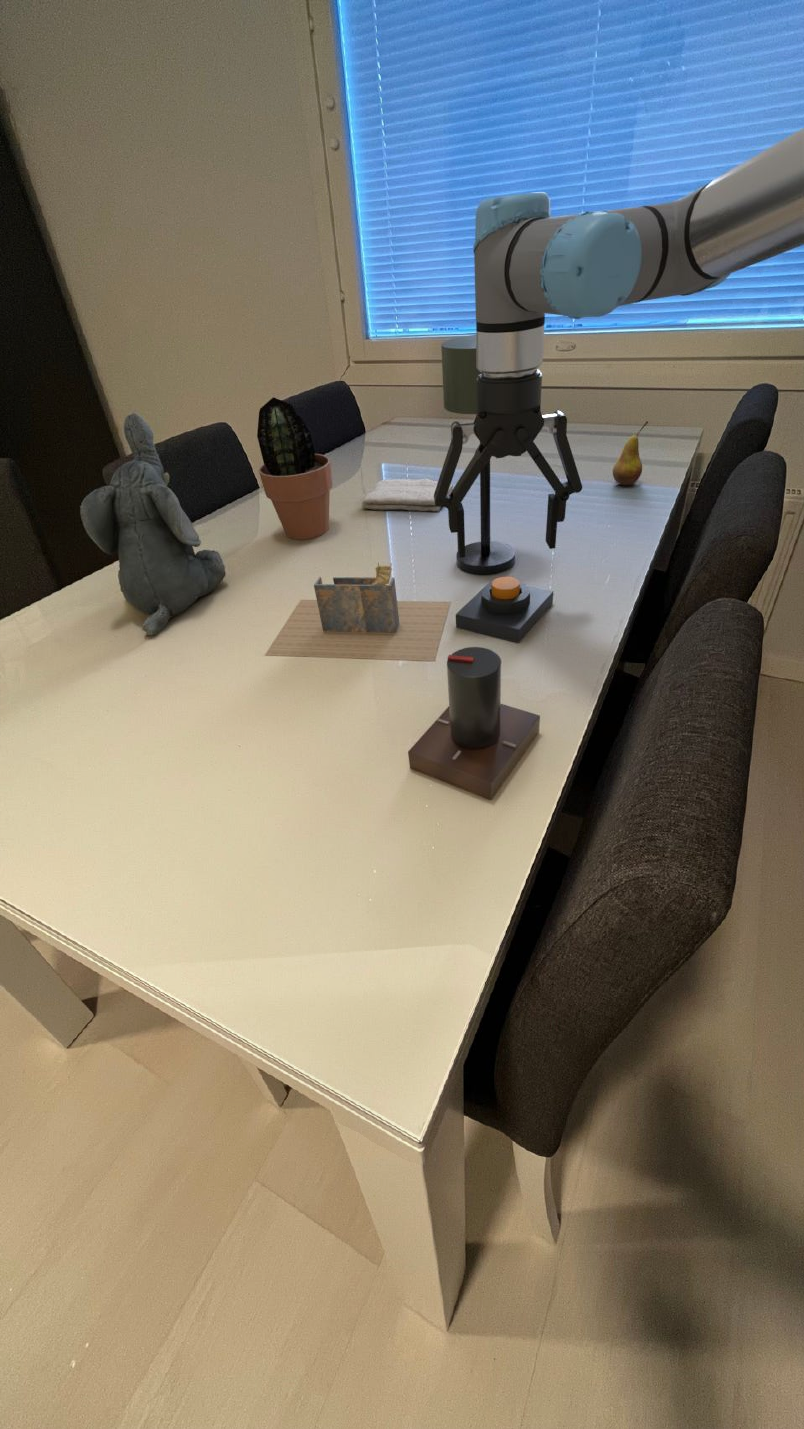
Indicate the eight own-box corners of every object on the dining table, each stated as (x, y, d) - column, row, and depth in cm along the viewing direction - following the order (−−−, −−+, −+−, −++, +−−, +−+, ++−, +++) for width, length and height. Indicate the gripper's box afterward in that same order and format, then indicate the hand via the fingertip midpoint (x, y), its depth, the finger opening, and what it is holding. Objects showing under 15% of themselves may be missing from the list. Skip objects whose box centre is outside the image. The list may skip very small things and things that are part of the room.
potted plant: (351, 532, 120) (330, 393, 104) (287, 551, 116) (255, 409, 100) (325, 512, 130) (302, 383, 114) (265, 529, 125) (233, 397, 110)
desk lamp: (532, 553, 105) (542, 332, 84) (501, 583, 98) (504, 348, 77) (471, 543, 111) (467, 333, 90) (438, 570, 103) (425, 348, 83)
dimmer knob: (504, 720, 67) (505, 647, 61) (494, 752, 63) (494, 677, 57) (457, 714, 69) (454, 641, 63) (445, 745, 65) (440, 671, 59)
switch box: (552, 604, 91) (554, 580, 89) (518, 643, 84) (519, 618, 81) (493, 591, 96) (493, 568, 93) (455, 627, 88) (454, 603, 86)
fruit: (617, 478, 130) (625, 417, 122) (644, 481, 126) (653, 420, 119) (606, 486, 126) (613, 425, 119) (633, 490, 123) (642, 427, 116)
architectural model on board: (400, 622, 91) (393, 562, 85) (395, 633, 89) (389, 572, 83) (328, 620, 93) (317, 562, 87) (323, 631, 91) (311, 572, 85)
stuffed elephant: (188, 562, 116) (136, 409, 99) (251, 591, 104) (204, 422, 87) (94, 603, 106) (17, 440, 89) (151, 640, 94) (75, 460, 77)
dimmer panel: (539, 732, 69) (540, 714, 67) (491, 800, 62) (491, 782, 60) (462, 707, 74) (461, 690, 72) (409, 768, 66) (407, 750, 65)
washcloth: (442, 512, 123) (441, 497, 121) (360, 511, 128) (358, 496, 126) (455, 492, 132) (454, 477, 130) (377, 491, 137) (376, 477, 135)
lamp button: (524, 590, 88) (524, 579, 87) (512, 602, 85) (512, 591, 84) (499, 585, 90) (499, 574, 89) (486, 597, 87) (486, 586, 86)
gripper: (604, 354, 72) (585, 529, 85) (404, 375, 73) (418, 546, 86) (623, 365, 66) (600, 551, 80) (407, 388, 67) (421, 569, 81)
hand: (505, 549), depth 83 cm, fingers open, 11 cm apart
